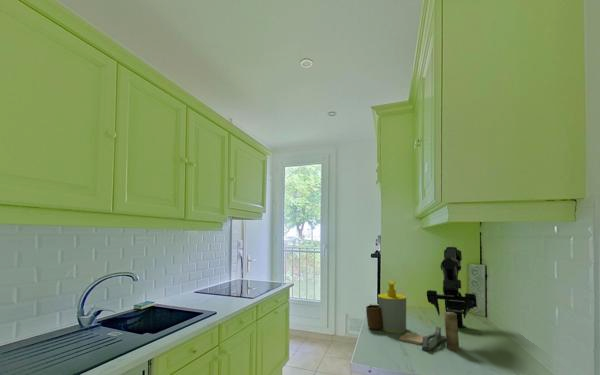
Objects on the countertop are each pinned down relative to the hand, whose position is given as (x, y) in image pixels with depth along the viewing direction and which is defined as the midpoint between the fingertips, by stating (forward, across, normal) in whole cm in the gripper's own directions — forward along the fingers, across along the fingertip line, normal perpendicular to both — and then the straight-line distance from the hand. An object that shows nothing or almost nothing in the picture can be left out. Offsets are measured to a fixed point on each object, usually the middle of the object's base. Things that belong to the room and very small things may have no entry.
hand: (451, 316), depth 123 cm
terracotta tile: (+8, -15, +7) cm, 18 cm away
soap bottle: (0, -26, +15) cm, 30 cm away
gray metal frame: (+9, -7, +6) cm, 13 cm away
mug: (+1, -34, +14) cm, 37 cm away
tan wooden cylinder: (+10, 0, +5) cm, 12 cm away
